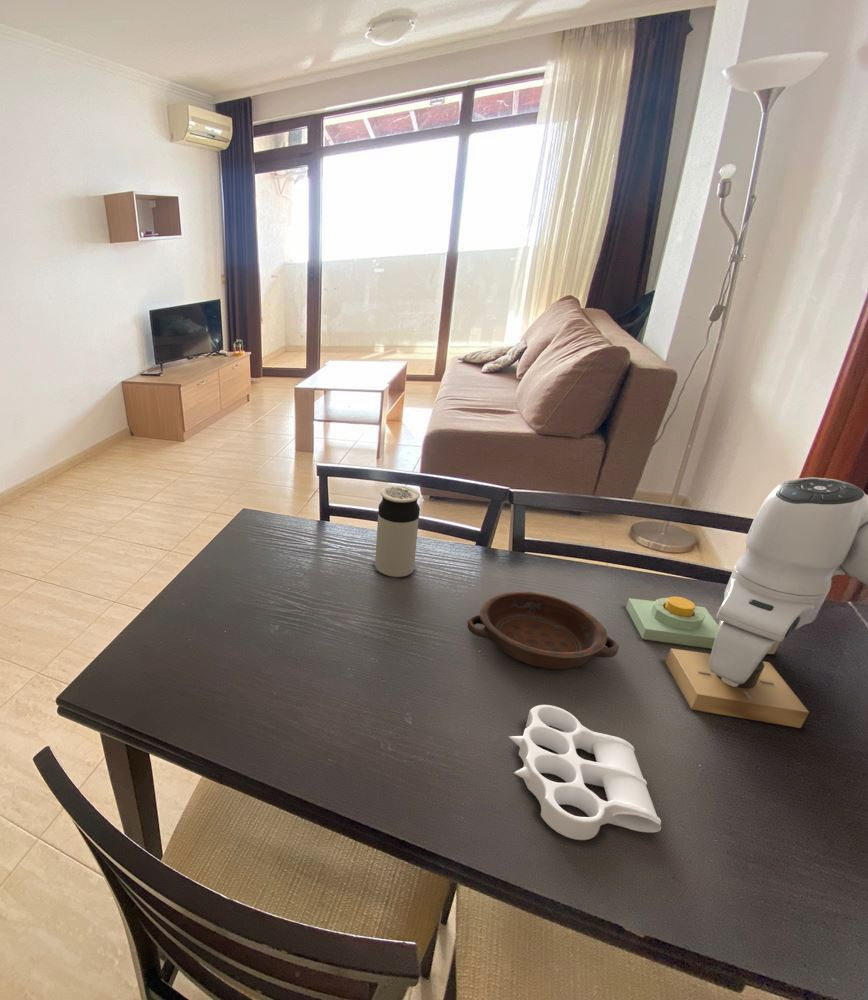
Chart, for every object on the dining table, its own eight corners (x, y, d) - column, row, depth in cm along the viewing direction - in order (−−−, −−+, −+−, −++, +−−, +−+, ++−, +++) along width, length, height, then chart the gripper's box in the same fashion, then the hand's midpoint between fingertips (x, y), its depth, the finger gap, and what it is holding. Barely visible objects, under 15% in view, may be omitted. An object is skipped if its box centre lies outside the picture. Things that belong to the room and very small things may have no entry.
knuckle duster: (666, 865, 59) (516, 824, 65) (621, 737, 74) (502, 712, 80) (675, 846, 58) (520, 805, 63) (627, 719, 73) (505, 695, 78)
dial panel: (762, 677, 82) (770, 661, 80) (800, 728, 73) (810, 711, 72) (665, 662, 86) (671, 647, 85) (691, 709, 78) (698, 693, 76)
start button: (687, 606, 92) (690, 598, 92) (696, 619, 89) (699, 610, 89) (661, 603, 94) (664, 595, 93) (669, 615, 91) (672, 607, 90)
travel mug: (387, 581, 112) (393, 504, 105) (368, 562, 119) (372, 488, 112) (421, 573, 114) (429, 496, 106) (399, 555, 121) (406, 482, 113)
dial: (721, 662, 81) (729, 642, 80) (760, 679, 78) (770, 659, 76) (709, 675, 79) (717, 655, 77) (749, 693, 76) (758, 672, 74)
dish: (462, 604, 103) (465, 582, 101) (598, 622, 96) (604, 599, 94) (469, 666, 89) (473, 642, 87) (630, 693, 81) (639, 667, 79)
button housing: (700, 617, 95) (708, 598, 93) (724, 650, 87) (733, 631, 86) (625, 607, 99) (631, 589, 97) (642, 639, 91) (648, 620, 89)
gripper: (765, 558, 79) (733, 632, 85) (714, 613, 70) (682, 693, 76) (827, 576, 75) (788, 653, 81) (781, 638, 65) (742, 721, 71)
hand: (737, 673), depth 78 cm, fingers closed on dial, 4 cm apart
